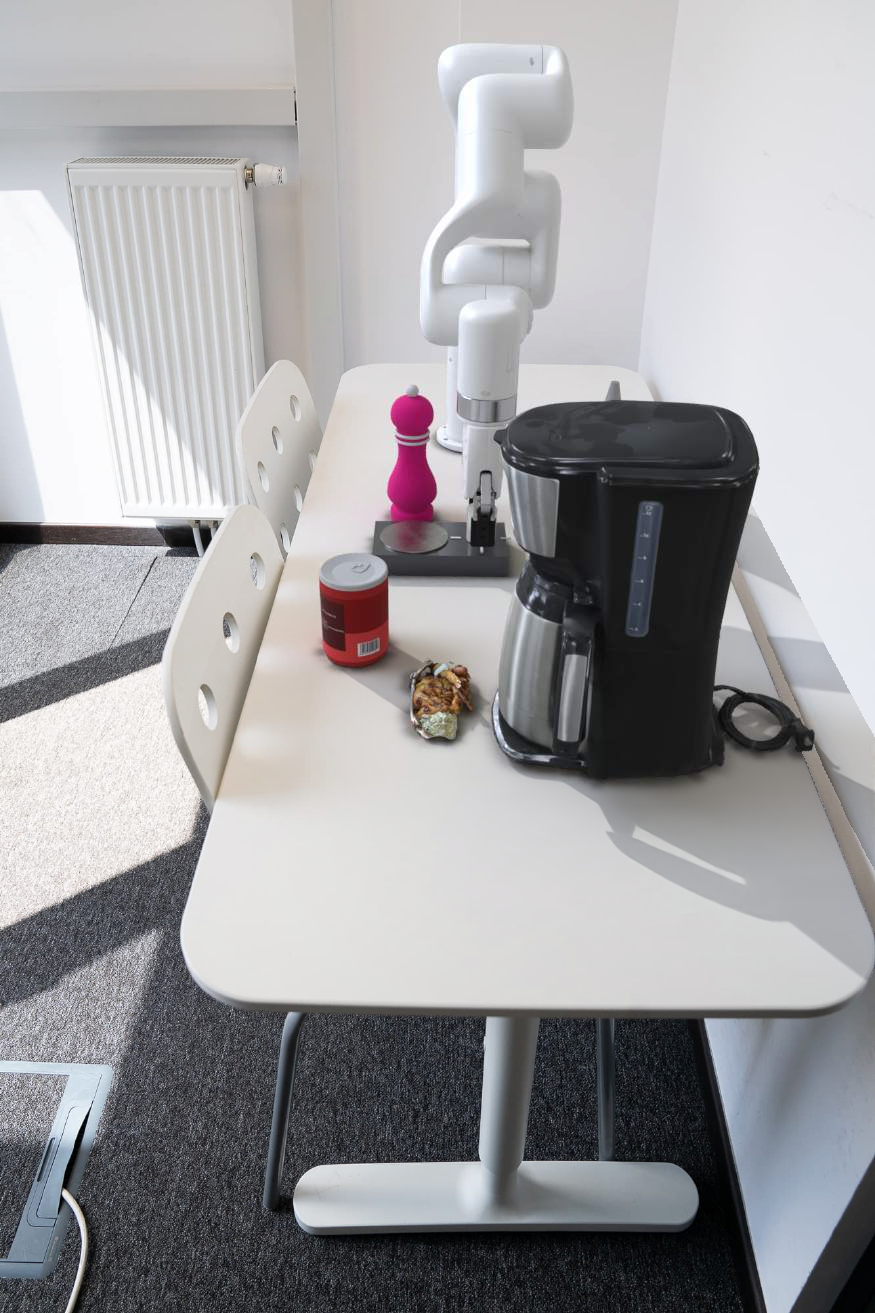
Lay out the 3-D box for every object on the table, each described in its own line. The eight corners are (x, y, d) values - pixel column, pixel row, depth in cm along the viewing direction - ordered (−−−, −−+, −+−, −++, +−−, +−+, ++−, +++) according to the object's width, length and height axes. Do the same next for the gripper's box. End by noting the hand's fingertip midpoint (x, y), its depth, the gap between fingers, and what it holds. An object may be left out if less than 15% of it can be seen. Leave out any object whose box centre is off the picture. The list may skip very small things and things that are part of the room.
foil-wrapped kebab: (409, 742, 107) (409, 714, 105) (408, 675, 117) (408, 649, 115) (476, 741, 107) (477, 713, 105) (469, 675, 117) (470, 649, 115)
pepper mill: (386, 507, 153) (384, 376, 142) (434, 506, 154) (436, 375, 142) (388, 529, 147) (386, 394, 136) (438, 528, 148) (441, 393, 137)
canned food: (398, 638, 123) (398, 558, 117) (373, 674, 117) (371, 591, 111) (340, 626, 125) (336, 547, 119) (312, 661, 119) (307, 579, 113)
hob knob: (496, 545, 137) (498, 512, 135) (466, 545, 137) (467, 512, 134) (494, 531, 141) (496, 499, 138) (465, 531, 140) (466, 499, 138)
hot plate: (372, 575, 136) (371, 553, 134) (375, 539, 145) (375, 519, 143) (512, 576, 136) (513, 555, 135) (507, 541, 145) (508, 521, 143)
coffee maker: (461, 681, 116) (471, 392, 97) (719, 643, 124) (775, 368, 105) (527, 815, 98) (555, 492, 79) (825, 762, 105) (915, 454, 87)
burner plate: (381, 522, 143) (381, 520, 142) (447, 522, 143) (447, 520, 142) (378, 553, 135) (378, 551, 135) (448, 554, 135) (448, 552, 135)
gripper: (455, 381, 136) (452, 503, 145) (458, 430, 121) (454, 563, 131) (512, 381, 136) (505, 504, 146) (521, 431, 121) (513, 563, 131)
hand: (481, 531), depth 138 cm, fingers open, 7 cm apart
